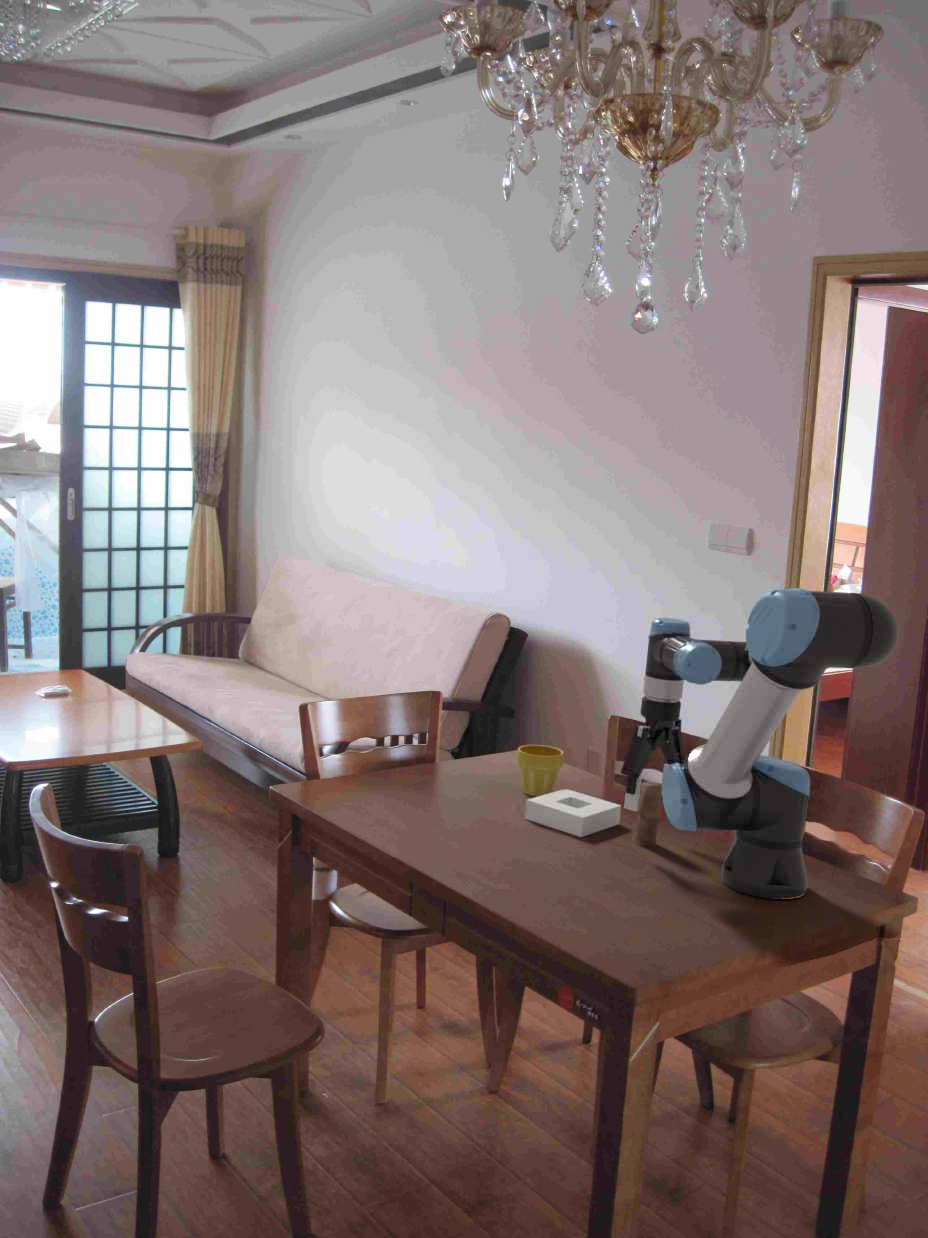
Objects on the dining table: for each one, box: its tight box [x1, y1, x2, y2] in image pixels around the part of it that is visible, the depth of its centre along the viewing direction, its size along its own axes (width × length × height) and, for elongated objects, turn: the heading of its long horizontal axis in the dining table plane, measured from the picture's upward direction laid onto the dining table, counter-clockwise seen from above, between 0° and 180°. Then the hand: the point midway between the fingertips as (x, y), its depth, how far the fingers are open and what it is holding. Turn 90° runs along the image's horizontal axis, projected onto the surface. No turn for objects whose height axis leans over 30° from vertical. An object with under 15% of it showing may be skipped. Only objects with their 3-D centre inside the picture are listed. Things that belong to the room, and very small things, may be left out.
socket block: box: [524, 788, 622, 838], centre depth 237 cm, size 14×14×4 cm
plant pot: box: [516, 744, 565, 797], centre depth 255 cm, size 10×10×10 cm
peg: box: [635, 781, 662, 848], centre depth 226 cm, size 4×4×12 cm
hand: (649, 803), depth 226 cm, fingers open, 13 cm apart
